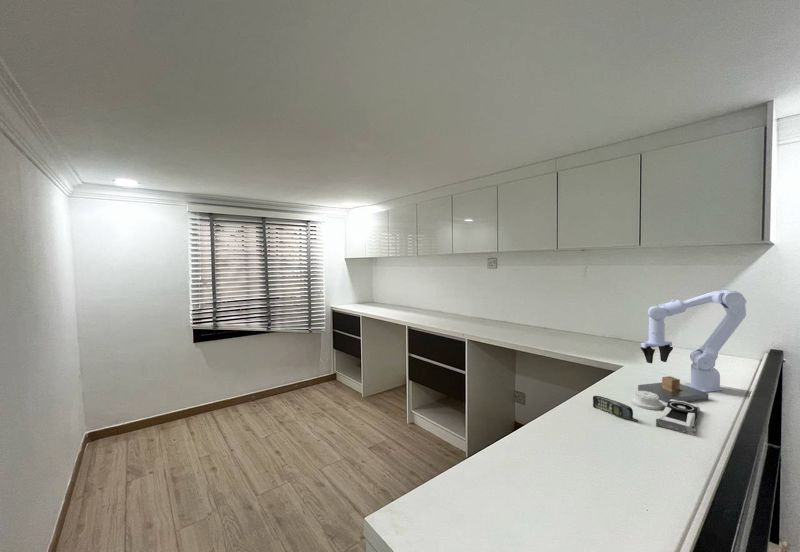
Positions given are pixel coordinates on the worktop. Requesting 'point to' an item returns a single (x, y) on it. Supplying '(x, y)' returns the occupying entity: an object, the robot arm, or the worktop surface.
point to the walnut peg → (671, 384)
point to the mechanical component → (647, 400)
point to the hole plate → (674, 393)
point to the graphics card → (679, 416)
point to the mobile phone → (613, 407)
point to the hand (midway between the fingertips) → (656, 362)
